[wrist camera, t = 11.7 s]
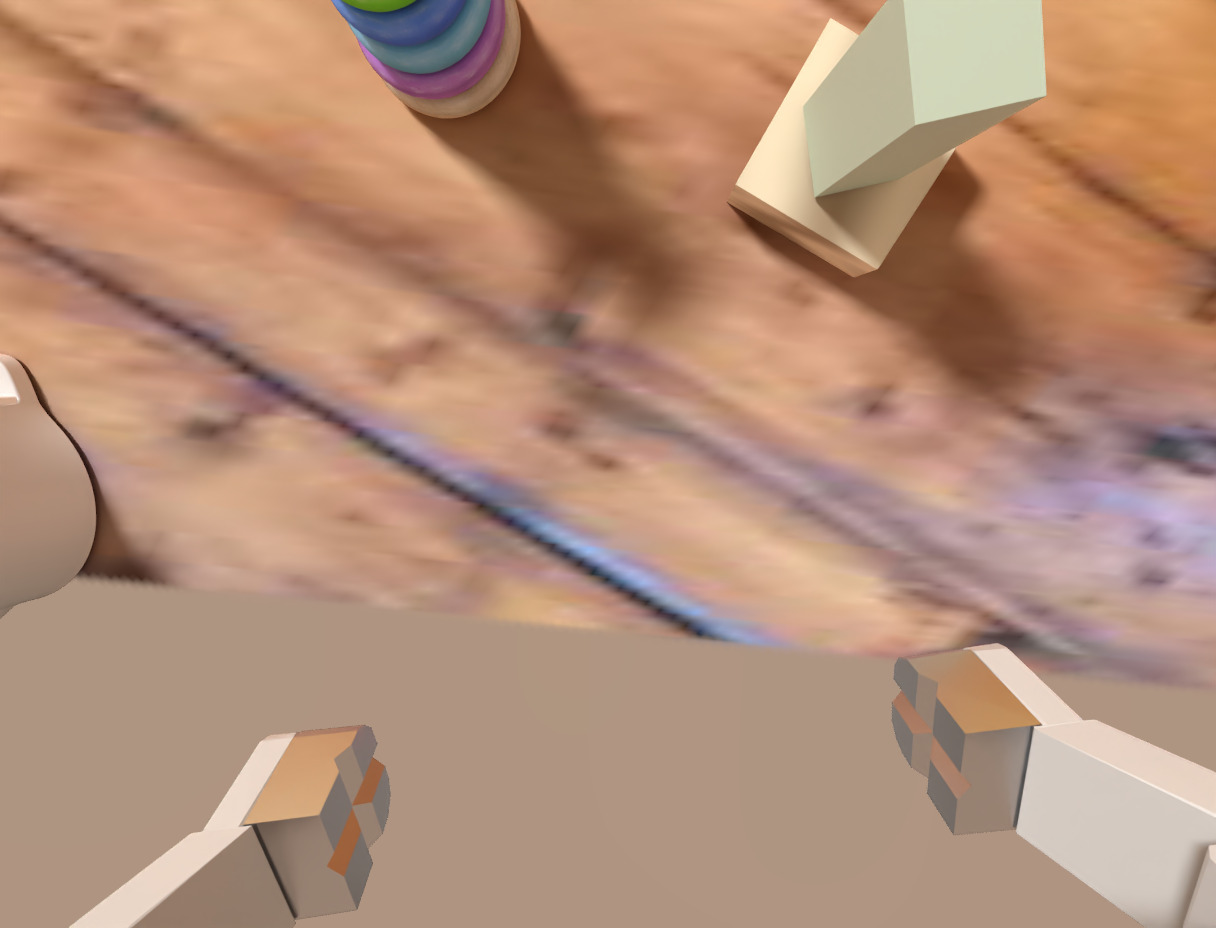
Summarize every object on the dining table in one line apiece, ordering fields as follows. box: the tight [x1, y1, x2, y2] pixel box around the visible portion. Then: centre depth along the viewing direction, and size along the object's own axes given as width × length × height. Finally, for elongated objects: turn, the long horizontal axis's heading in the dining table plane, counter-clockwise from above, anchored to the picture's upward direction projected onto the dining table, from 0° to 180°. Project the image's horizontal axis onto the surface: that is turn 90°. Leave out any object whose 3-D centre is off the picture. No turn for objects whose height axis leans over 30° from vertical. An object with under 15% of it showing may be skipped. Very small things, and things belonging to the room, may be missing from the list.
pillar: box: [803, 0, 1046, 198], centre depth 23 cm, size 4×4×10 cm
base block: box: [727, 19, 956, 278], centre depth 30 cm, size 8×8×4 cm
